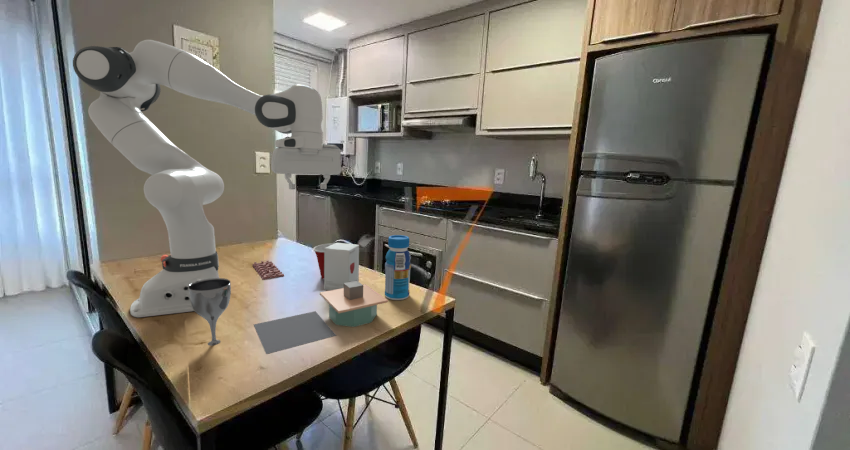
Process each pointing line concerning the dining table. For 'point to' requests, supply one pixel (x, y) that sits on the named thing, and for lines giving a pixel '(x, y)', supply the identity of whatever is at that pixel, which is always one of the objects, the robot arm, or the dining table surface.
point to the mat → (292, 331)
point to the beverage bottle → (397, 268)
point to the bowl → (353, 316)
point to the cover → (352, 297)
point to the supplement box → (340, 265)
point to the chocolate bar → (267, 270)
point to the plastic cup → (321, 256)
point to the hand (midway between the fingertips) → (308, 189)
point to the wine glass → (210, 301)
